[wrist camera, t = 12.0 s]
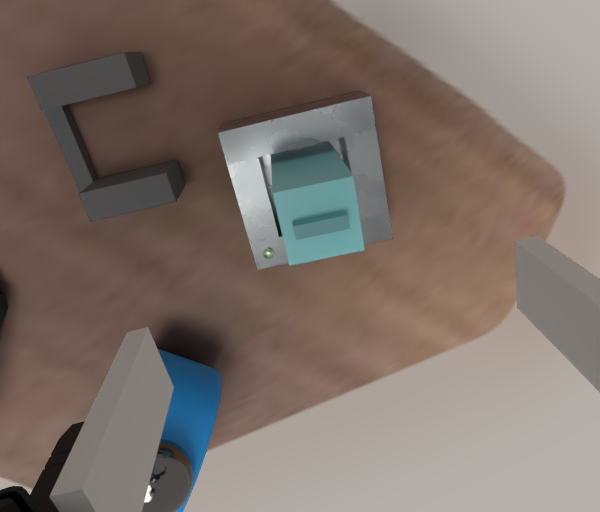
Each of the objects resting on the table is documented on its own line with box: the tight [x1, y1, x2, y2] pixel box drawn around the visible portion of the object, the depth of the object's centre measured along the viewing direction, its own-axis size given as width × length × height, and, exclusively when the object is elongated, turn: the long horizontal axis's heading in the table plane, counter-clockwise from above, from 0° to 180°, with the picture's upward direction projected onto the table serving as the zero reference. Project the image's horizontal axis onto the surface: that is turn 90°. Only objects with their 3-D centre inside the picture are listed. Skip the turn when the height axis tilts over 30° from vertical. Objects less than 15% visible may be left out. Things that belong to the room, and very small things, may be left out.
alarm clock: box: [142, 347, 221, 512], centre depth 36 cm, size 13×6×15 cm, turn 154°
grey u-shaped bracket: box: [27, 52, 185, 222], centre depth 32 cm, size 9×7×4 cm
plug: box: [270, 142, 365, 266], centre depth 30 cm, size 4×4×11 cm
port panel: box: [218, 91, 393, 270], centre depth 34 cm, size 10×10×4 cm
